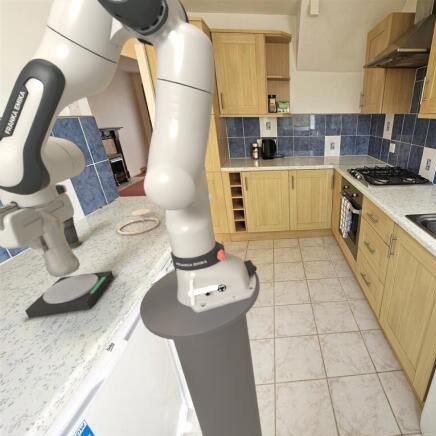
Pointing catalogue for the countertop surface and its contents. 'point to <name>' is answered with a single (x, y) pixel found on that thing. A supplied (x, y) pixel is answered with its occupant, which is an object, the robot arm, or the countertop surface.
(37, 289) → the countertop surface
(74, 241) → the beverage cup
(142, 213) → the hand towel holder
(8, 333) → the countertop surface
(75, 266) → the plastic bottle
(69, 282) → the kitchen scale
